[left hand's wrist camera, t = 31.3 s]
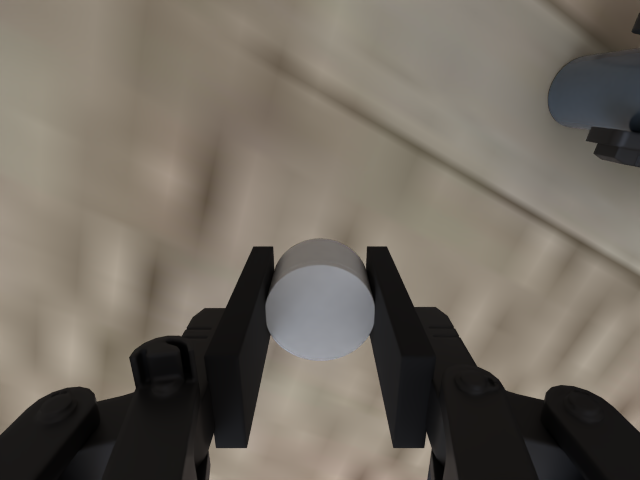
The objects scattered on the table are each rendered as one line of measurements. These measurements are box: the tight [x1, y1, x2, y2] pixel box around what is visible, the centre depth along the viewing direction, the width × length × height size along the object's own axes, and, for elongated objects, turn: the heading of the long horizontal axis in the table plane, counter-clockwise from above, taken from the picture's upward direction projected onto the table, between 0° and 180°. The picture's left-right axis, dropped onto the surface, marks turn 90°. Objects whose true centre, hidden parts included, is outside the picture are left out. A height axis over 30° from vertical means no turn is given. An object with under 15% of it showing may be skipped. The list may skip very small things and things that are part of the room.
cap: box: [265, 238, 375, 361], centre depth 13 cm, size 4×4×2 cm
